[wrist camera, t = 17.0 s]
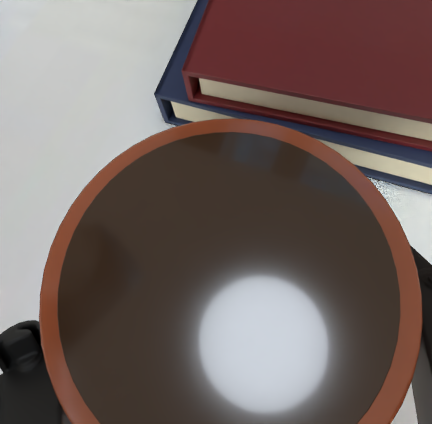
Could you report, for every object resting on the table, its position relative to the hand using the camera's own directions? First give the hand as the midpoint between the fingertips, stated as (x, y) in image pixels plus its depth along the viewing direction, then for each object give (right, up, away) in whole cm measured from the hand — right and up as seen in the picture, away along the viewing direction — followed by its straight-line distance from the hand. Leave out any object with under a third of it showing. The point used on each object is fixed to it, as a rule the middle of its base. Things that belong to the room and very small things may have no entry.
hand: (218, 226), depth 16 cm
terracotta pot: (+1, -4, +1) cm, 4 cm away
